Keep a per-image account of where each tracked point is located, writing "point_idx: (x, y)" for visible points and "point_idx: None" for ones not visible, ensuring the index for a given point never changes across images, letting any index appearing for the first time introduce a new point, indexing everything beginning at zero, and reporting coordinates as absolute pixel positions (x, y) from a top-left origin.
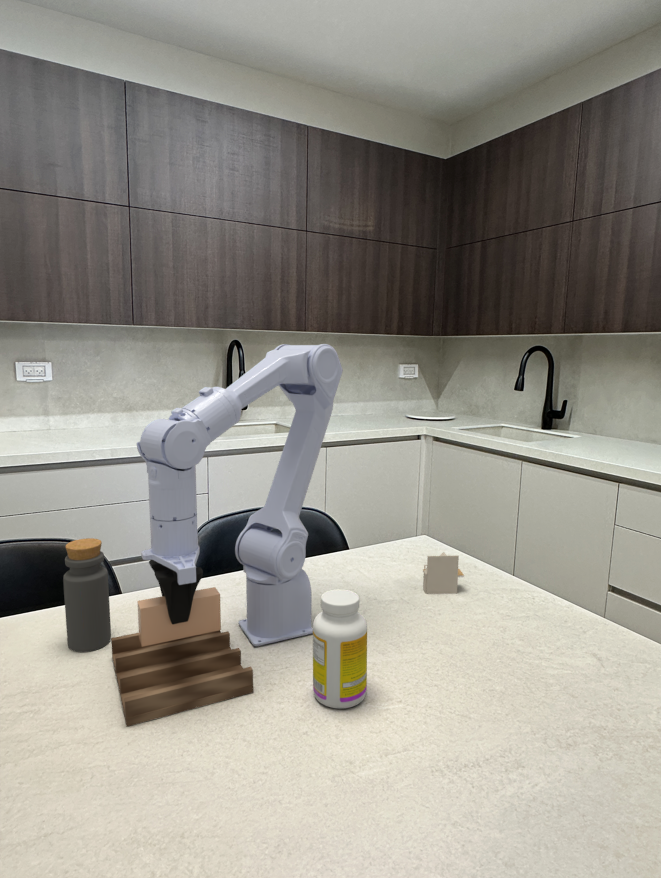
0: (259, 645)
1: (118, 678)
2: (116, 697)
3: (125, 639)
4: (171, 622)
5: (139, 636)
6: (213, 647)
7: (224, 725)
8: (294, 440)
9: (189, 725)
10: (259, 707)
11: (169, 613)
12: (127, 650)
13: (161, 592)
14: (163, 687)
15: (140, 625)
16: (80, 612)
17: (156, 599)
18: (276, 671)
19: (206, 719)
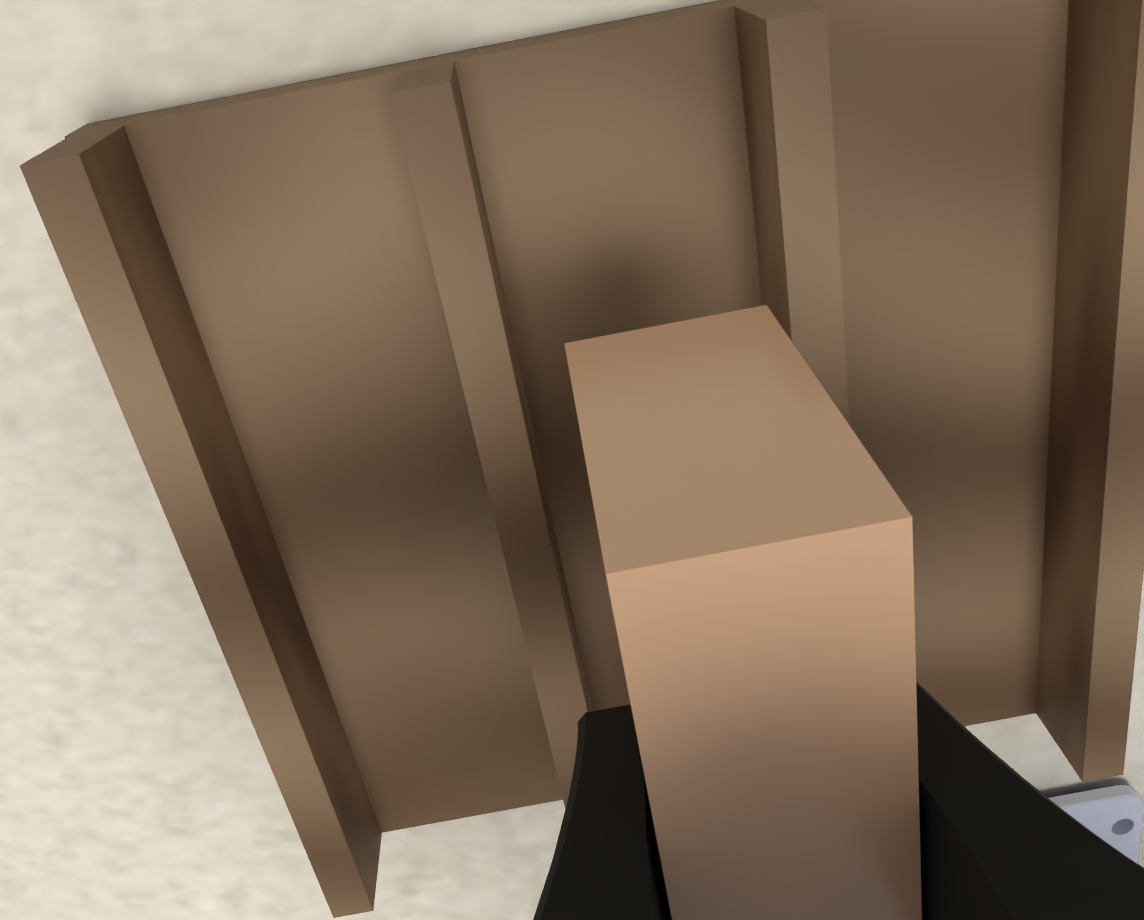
0: None
1: (645, 31)
2: (477, 17)
3: (1128, 82)
4: (586, 722)
5: (730, 325)
6: None
7: (61, 668)
8: None
9: (75, 503)
10: (205, 818)
11: (573, 798)
12: (1068, 78)
13: (992, 805)
14: (422, 378)
15: (632, 429)
16: None
17: (847, 738)
18: (522, 905)
19: (126, 587)
